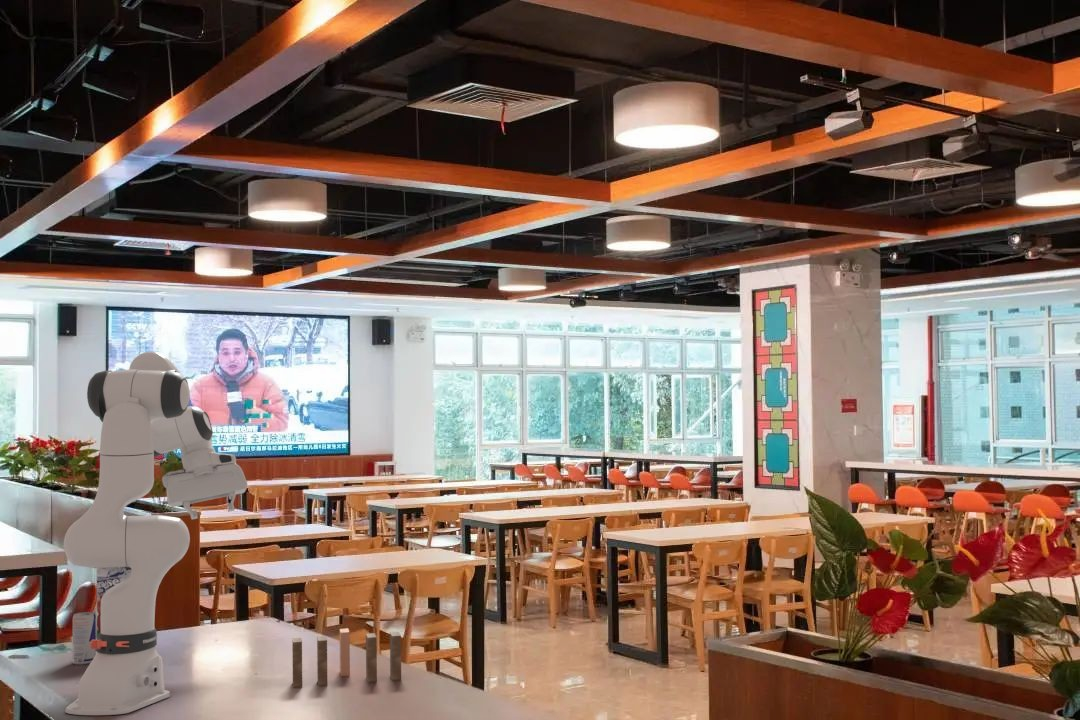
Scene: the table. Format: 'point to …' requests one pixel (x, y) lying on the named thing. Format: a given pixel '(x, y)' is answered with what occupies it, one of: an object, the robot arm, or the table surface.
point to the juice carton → (108, 585)
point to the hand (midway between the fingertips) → (213, 514)
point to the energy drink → (83, 637)
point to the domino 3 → (344, 652)
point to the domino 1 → (297, 662)
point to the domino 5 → (395, 656)
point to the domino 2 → (322, 660)
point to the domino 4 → (371, 657)
